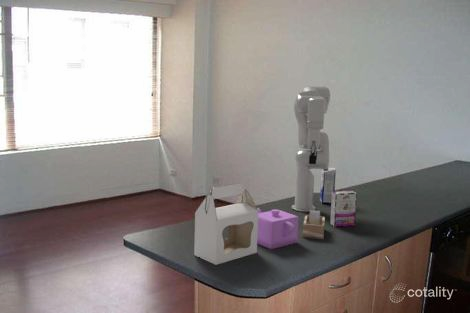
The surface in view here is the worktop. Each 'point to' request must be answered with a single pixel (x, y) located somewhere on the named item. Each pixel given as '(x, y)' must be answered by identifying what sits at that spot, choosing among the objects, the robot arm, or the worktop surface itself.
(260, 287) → the worktop surface
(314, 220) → the brushed metal block
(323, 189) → the milk carton
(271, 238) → the teapot
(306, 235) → the open wooden box
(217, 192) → the gable box
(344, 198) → the candy bar box
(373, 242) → the worktop surface
